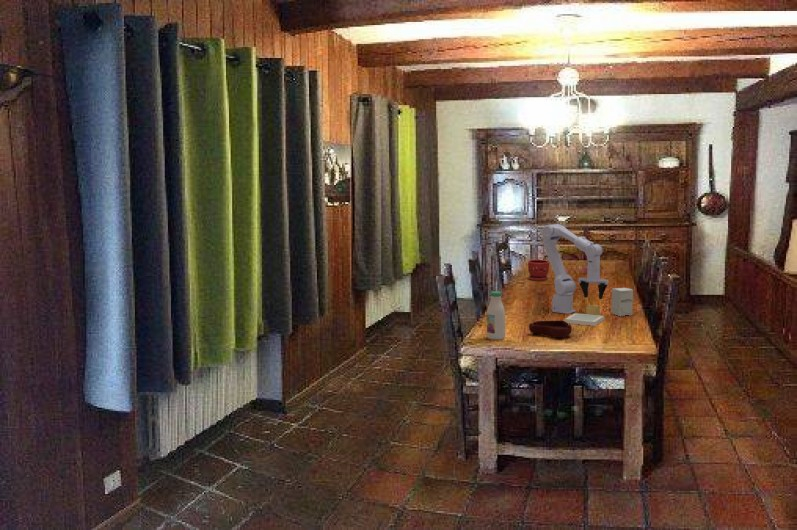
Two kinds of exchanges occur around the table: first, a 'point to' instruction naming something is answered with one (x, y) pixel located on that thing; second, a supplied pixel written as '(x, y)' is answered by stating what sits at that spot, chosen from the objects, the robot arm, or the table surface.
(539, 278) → the plant pot
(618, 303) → the supplement box
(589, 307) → the block
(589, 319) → the base
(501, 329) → the milk bottle
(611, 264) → the table surface
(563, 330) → the ashtray
